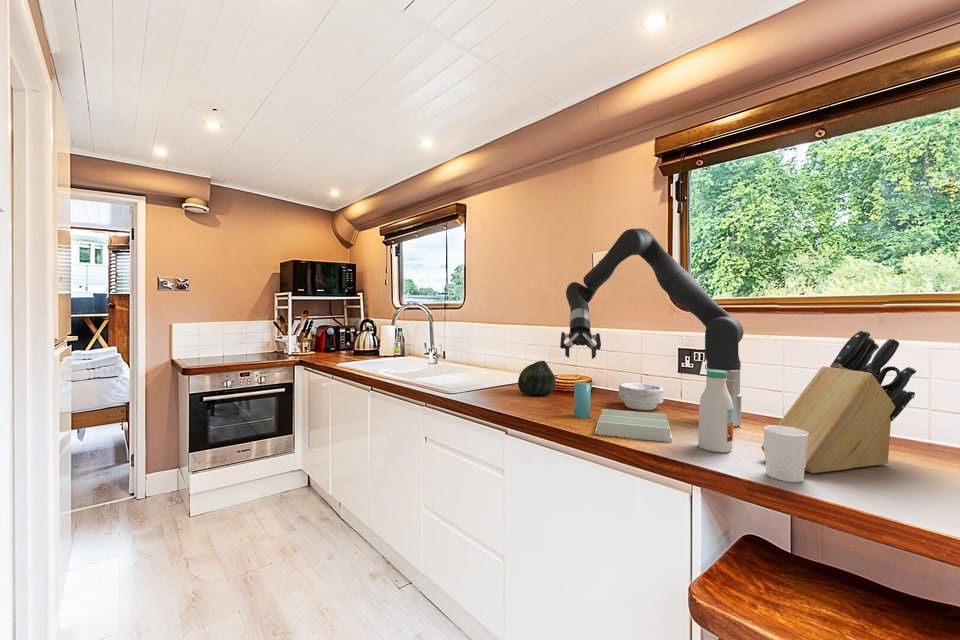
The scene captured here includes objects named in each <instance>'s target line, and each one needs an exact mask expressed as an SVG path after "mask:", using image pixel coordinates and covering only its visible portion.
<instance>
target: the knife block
mask: <svg viewBox="0 0 960 640" xmlns="http://www.w3.org/2000/svg"><path fill="white" fill-rule="evenodd" d="M899 346H900V342H899V341H898V340H896V339H893V338H890V339H887V340H886V341H885V342H884V343H883V344H882V345H881V347H880V346H879V344H877V342H875V339H873V338H871V333H870V332H868V330H864V329H862V330H859V331H857V332H856V333H855V334H854V335H853V336H851V337H850V339H848V340H847V341H846V343H844V345H843V346H842V347H841V350H839V352H838V354H837V356H836V357H835V358H834V360H833V362H831V364H830V366H821V367H820V369H819V370H818V371H817V372H816V374H815V375H814V376H813V377H812V379H811V380H810V382H809V383H808V384H807V385H806V386H805V388H804V389H803V391H802V392H801V393H800V395H799V396H798V398H796V400H795V401H794V403H793V404H792V405H791V407H789V410H788V411H786V414H784V416H783V417H782V419H781V420H780V421H779V423H778V424H777V425H776V426H786V427H793V428H797V429H801V430H804V431H806V432H808V433H809V438H808V449H807V461H806V468H805V471H806V472H807V473H810V474H817V473H818V474H819V473H826V472H827V473H828V472H834V471H841V470H843V471H844V470H849V469H853V468H862V467H865V468H866V467H872V466H882V465H886V464H889V452H890V439H891V436H890V435H891V428H892V427H891V425H892V423H891V422H893V421H894V420H895V419H896V418H897V417H898V416H899V415H900V414H901V413H902V411H904V409H905V408H906V406H907V405H909V403H910V401H912V399H914V398H915V394H916V392H914V391H907V390H904V389H905V387H907V385H908V383H909V381H910V379H911V377H912V376H913V375H915V374H916V373H917V370H916V369H915V368H913V367H911V366H908V367H907V366H906V367H905V368H904V369H902V370H900V369H899V368H898V367H896V366H886V364H888V362H889V361H890V360H891V359H892V357H894V355H895V353H896V352H897V350H898V349H899ZM875 352H876V353H875ZM874 353H875V355H874ZM873 355H874V356H873ZM872 357H873V358H872ZM871 359H872V360H871ZM870 361H871V362H870ZM869 362H870V363H869ZM890 371H891V372H892V371H894V372H895V373H896V376H895V377H894V378H893V380H892V381H891V382H890V383H887V384H884V385H882V384H883V382H884V380H885V377H886V376H887V374H888V373H889V372H890ZM760 448H761V450H762V451H763V453H765V450H764V443H763V444H762V445H761V447H760ZM881 464H882V465H881Z"/></svg>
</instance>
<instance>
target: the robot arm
mask: <svg viewBox="0 0 960 640" xmlns="http://www.w3.org/2000/svg"><path fill="white" fill-rule="evenodd" d="M632 256H639V257H641V258H642V259H643V260H645V262H646V263H647V264H648V266H650V268H652V271H653V272H654V275H655V278H656V281H657V282H658V284H659V286H660V287H661V289H662V290H664V293H665V292H666V294H667V295H668V296H669V297H670V298H671V299H672V300H673V301H675V302H676V303H677V304H678V305H679V306H681V307H683V309H685V310H687V311H688V312H689V313H691V314H692V315H694V316H695V317H696V318H697V319H698V320H699V321H700V322H701V323H702V325H704V327H705V333H704V357H705V361H706V371H707V370H722V371H726V372H727V380H726V386H727V389H728V392H729V394H730V396H731V399H732V402H733V428H734V427H735V426H736V427H737V426H739V427H740V426H742V425H741V424H742V423H741V422H742V395H741V360H740V355H739V354H740V353H739V347H740V346H739V343H740V342H741V341H742V339H743V337H744V327H743V325H742V324H741V322H739V320H738V319H736V317H733V315H731V314H730V313H728V311H726V310H725V309H724V308H723V307H721V306H720V305H719V304H718V303H717V302H715V300H714V299H713V298H712V297H711V296H710V295H709V293H708V292H707V291H706V290H705V289H704V288H703V287H702V286H701V284H700V283H699V282H698V281H697V279H695V278H694V277H693V276H692V275H691V274H690V273H689V271H687V270H686V269H685V268H683V266H682V265H681V264H679V263H678V261H677V260H675V259H674V258H673V257H672V255H670V253H668V252H667V251H666V250H665V249H664V247H663V246H662V245H661V244H660V243H659V241H658V240H657V239H656V238H655V237H654V235H653V234H652V233H651V232H650V231H649V230H647V229H646V228H629V229H626V230H625V231H623V232H622V233H621V235H620V236H619V237H618V239H617V240H616V241H615V242H614V243H613V245H612V247H610V249H609V250H608V252H607V253H606V254H605V255H604V256H603V258H602V259H601V260H600V261H599V262H598V263H597V264H596V265H595V266H594V267H592V268H591V270H589V271H588V272H587V273H586V274H585V275H584V276H583V284H584V285H583V284H581V283H579V282H577V281H573V282H570V283H569V284H568V286H567V287H566V291H565V296H566V299H567V302H568V306H569V307H570V315H569V333H565V332H564V331H562V332H561V333H560V334H561V335H560V345H559V348H560V349H564V350H565V351H564V352H565V353H564V355H565V357H567V359H569V358H570V349H571V348H572V347H574V346H586V347H587V348H589V350H591V351H590V352H591V359H592V360H594V359H595V358H596V356H597V351H599V350H601V347H602V342H601V336H600V335H601V334H600V333H599V332H597V333H596V334H592V333H591V332H592V331H591V318H590V307H589V303H590V302H591V301H592V299H593V297H594V295H595V294H596V292H597V291H598V290H599V288H600V287H601V286H602V285H603V284H605V283H606V282H607V281H608V280H610V278H611V277H612V275H613V274H614V271H615V270H616V268H617V267H618V265H620V263H621V264H622V262H623V261H625V260H626V259H627V258H629V257H632ZM567 338H568V339H567ZM566 340H568V341H567V342H566V343H565V341H566ZM593 340H594V341H593ZM595 343H596V344H595ZM707 381H708V380H707V376H706V384H705V385H707ZM740 428H741V427H740Z"/></svg>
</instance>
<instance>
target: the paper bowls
mask: <svg viewBox="0 0 960 640" xmlns="http://www.w3.org/2000/svg"><path fill="white" fill-rule="evenodd" d="M618 398H619V399H620V400H622V401H623V403H624V405H625V407H626V408H629V409H632V410H635V409H636V411H653V410H656V408H657V406H658V405H659V404H662V403H664V388H663V386H659V385H654V384H649V383H639V382H636V383H635V382H634V383H633V382H627V383H626V382H625V383H621V384H620V383H619V385H618Z"/></svg>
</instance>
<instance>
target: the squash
mask: <svg viewBox="0 0 960 640" xmlns="http://www.w3.org/2000/svg"><path fill="white" fill-rule="evenodd" d="M517 383H518V384H517V385H518V389H519V391H520V392H521V393H522V395H523V394H524V395H526V396H533V395H535V396H537V395H539V396H542V397H547V396H549V395H550V394H552V392H553V391H554V390H555V387H556V377H555V374H554V373H553V371H552V370H551V368H550V366H549V365H548V363H547V362H546V361H545V360H539V361H535V362H534V363H532V364H529V365H527V366H526V367H524V369H523V370H522V371H521V372H520V373H519V375H518V381H517Z"/></svg>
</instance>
